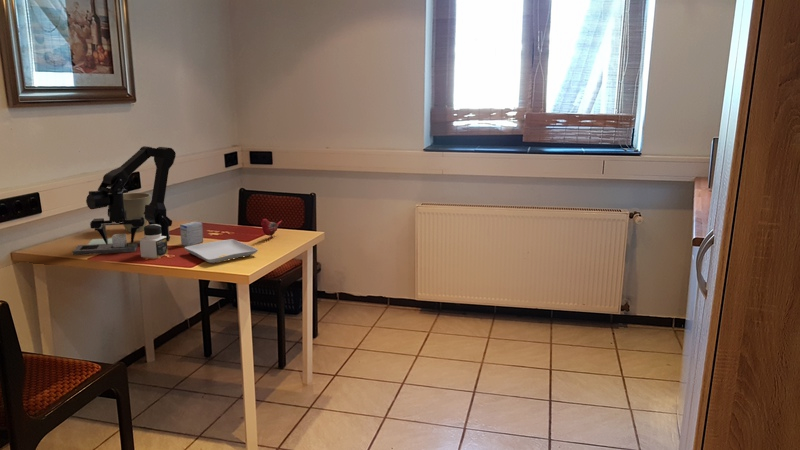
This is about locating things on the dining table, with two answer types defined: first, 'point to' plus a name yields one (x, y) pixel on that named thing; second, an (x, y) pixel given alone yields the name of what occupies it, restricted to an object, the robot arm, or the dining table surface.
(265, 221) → the decorative bird figurine
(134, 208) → the plant pot
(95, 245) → the grey flat frame
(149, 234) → the medicine bottle
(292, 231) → the dining table surface
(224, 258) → the salad plate
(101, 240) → the sage mat
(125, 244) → the steel peg
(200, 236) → the medicine box
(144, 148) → the robot arm
